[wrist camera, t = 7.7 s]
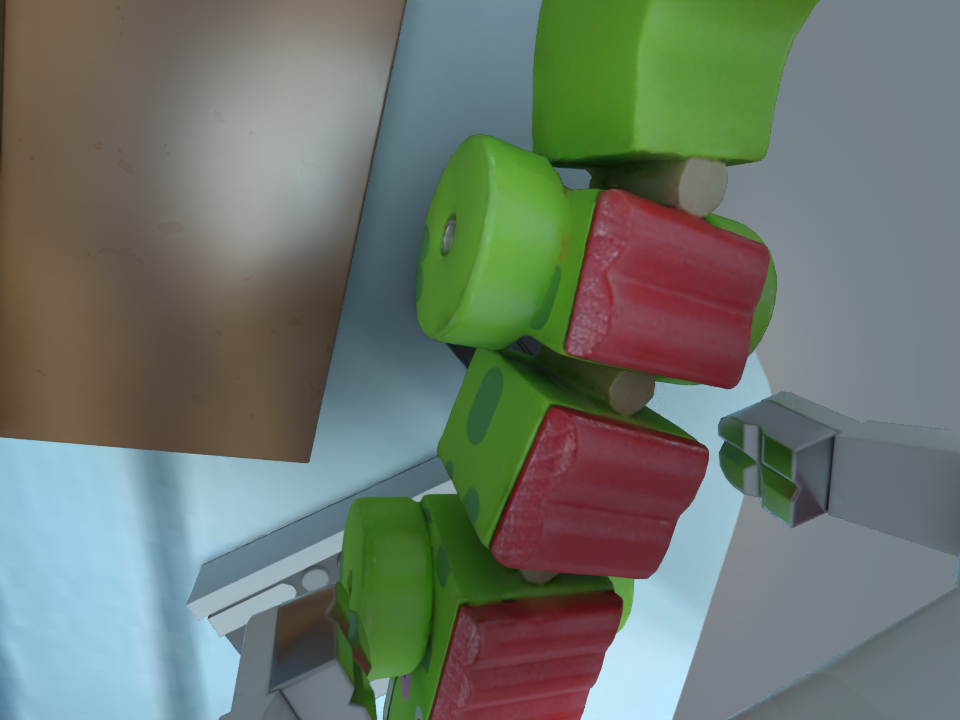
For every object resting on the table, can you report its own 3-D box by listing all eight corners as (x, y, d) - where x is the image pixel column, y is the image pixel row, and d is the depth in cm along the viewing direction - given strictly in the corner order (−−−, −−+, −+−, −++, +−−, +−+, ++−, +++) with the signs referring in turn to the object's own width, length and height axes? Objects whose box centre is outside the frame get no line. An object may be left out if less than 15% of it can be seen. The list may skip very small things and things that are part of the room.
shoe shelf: (416, -117, 22) (483, -332, 13) (311, 394, 28) (307, 489, 19) (103, -295, 17) (-127, -816, 8) (61, 360, 24) (-97, 463, 15)
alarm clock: (465, 472, 29) (538, 650, 35) (449, 441, 33) (516, 604, 39) (186, 605, 26) (314, 776, 32) (207, 552, 30) (316, 711, 36)
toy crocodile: (503, 676, 16) (594, 925, 11) (301, 695, 14) (287, 1030, 8) (743, 50, 11) (1149, -75, 6) (487, -99, 9) (768, -576, 3)
